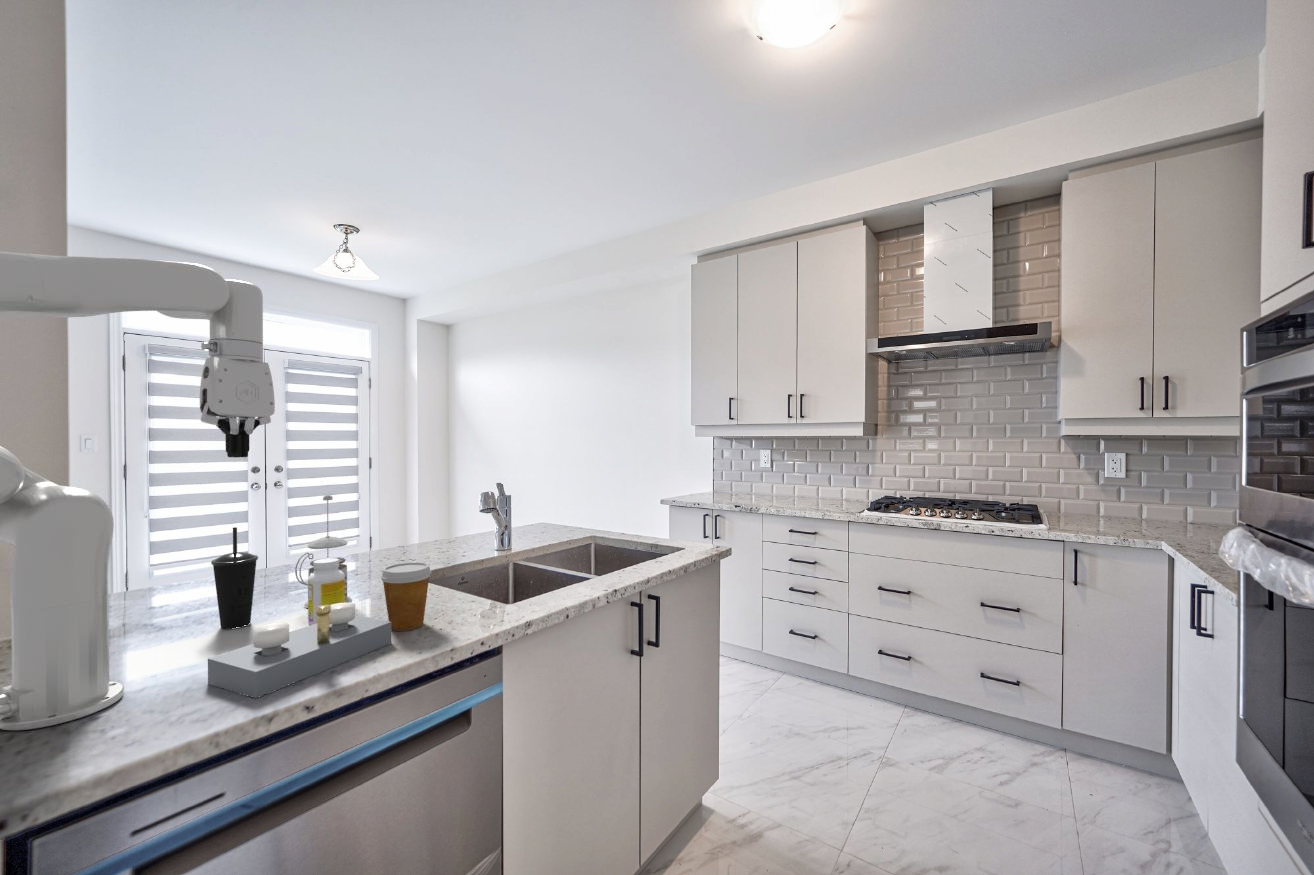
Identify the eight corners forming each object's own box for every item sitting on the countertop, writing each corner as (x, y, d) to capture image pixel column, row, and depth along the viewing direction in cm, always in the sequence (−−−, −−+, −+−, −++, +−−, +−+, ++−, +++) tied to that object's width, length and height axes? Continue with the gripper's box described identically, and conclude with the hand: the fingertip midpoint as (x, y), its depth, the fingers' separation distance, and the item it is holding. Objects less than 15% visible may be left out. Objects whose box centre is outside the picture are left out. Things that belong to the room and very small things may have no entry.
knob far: (336, 650, 99) (336, 612, 99) (318, 646, 101) (318, 608, 101) (360, 641, 103) (360, 604, 103) (342, 637, 105) (342, 601, 105)
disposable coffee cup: (426, 615, 121) (425, 559, 121) (436, 628, 113) (436, 568, 113) (377, 623, 116) (376, 565, 116) (384, 637, 108) (384, 575, 108)
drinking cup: (201, 630, 112) (201, 529, 112) (238, 617, 119) (238, 523, 119) (232, 633, 110) (231, 531, 110) (267, 620, 117) (267, 525, 117)
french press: (361, 600, 131) (360, 494, 131) (309, 614, 121) (309, 499, 121) (337, 594, 136) (336, 491, 136) (285, 607, 126) (285, 496, 126)
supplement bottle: (352, 617, 120) (352, 557, 120) (331, 628, 113) (331, 564, 113) (322, 616, 120) (322, 556, 120) (300, 626, 114) (300, 563, 114)
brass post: (321, 645, 93) (321, 609, 93) (312, 643, 94) (312, 607, 94) (333, 640, 95) (333, 605, 95) (325, 638, 96) (324, 604, 96)
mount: (255, 698, 83) (255, 671, 83) (207, 683, 88) (207, 658, 88) (391, 643, 105) (391, 621, 105) (347, 633, 110) (347, 613, 110)
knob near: (265, 678, 88) (265, 634, 88) (246, 672, 90) (246, 630, 90) (296, 666, 92) (295, 625, 92) (277, 661, 94) (277, 621, 94)
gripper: (200, 345, 91) (201, 459, 91) (293, 357, 104) (293, 455, 104) (174, 348, 94) (175, 458, 94) (267, 359, 107) (268, 455, 107)
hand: (237, 456), depth 99 cm, fingers closed
